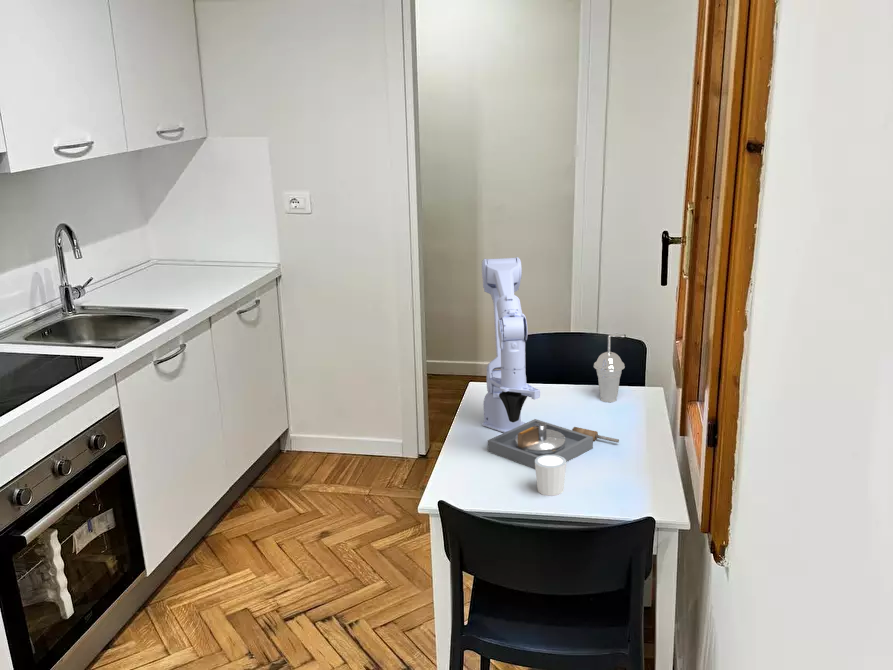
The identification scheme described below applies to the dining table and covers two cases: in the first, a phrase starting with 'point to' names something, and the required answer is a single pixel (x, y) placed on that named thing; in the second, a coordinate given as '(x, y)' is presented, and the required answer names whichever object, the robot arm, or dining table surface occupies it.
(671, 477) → the dining table surface
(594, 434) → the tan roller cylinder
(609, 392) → the cup with straw
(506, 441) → the tray
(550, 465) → the white fluted cup
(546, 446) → the dial
